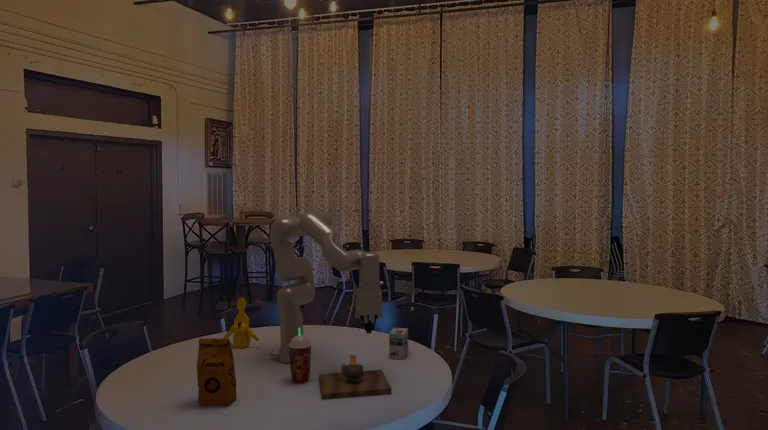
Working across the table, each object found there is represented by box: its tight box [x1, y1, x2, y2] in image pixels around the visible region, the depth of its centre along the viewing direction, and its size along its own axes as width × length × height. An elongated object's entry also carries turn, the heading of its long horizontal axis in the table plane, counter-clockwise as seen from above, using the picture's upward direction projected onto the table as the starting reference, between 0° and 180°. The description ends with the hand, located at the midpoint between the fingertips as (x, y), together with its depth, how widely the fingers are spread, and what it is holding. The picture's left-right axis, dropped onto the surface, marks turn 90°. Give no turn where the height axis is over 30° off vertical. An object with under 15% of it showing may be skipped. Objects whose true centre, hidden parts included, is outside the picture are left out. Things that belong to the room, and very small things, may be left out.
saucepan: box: [344, 354, 364, 379], centre depth 203 cm, size 16×7×4 cm, turn 5°
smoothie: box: [288, 328, 312, 384], centre depth 205 cm, size 8×8×20 cm
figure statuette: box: [221, 297, 260, 350], centre depth 250 cm, size 18×8×22 cm, turn 89°
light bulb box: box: [388, 327, 409, 360], centre depth 234 cm, size 11×7×11 cm, turn 168°
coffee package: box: [196, 337, 237, 406], centre depth 185 cm, size 10×12×22 cm
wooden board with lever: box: [318, 363, 392, 400], centre depth 199 cm, size 24×21×5 cm
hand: (368, 332), depth 208 cm, fingers closed
